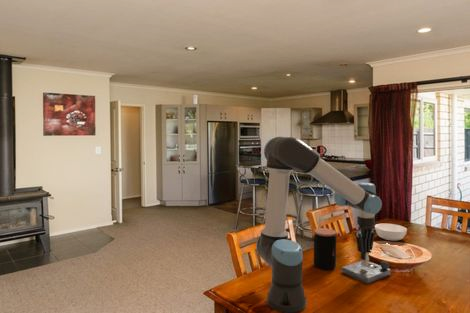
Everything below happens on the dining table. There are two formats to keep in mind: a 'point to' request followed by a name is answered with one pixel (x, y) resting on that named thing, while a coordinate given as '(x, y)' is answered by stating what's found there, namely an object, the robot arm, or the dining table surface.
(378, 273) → the grey base plate
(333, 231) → the coffee jar
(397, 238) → the bowl
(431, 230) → the dining table surface
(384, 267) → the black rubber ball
